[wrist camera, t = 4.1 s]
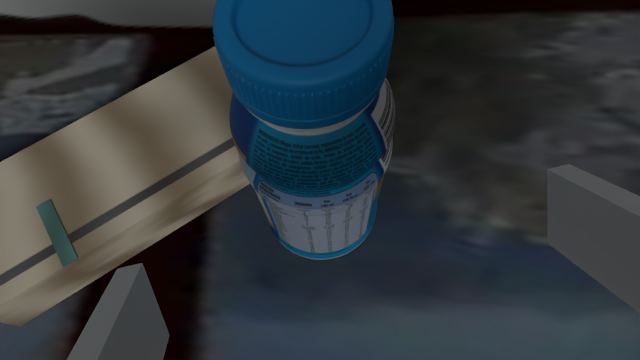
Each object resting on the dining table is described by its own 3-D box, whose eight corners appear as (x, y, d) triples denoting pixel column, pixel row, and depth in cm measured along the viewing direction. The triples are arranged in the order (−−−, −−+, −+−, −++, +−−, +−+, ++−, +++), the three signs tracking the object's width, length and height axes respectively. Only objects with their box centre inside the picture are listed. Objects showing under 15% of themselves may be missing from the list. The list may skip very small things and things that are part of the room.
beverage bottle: (315, 288, 32) (284, 155, 14) (243, 204, 35) (140, 4, 17) (401, 212, 34) (471, 11, 16) (326, 140, 37) (314, -101, 19)
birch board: (281, 46, 41) (275, 12, 37) (346, 123, 38) (347, 93, 34) (-22, 215, 35) (-65, 195, 32) (21, 326, 32) (-22, 317, 28)
